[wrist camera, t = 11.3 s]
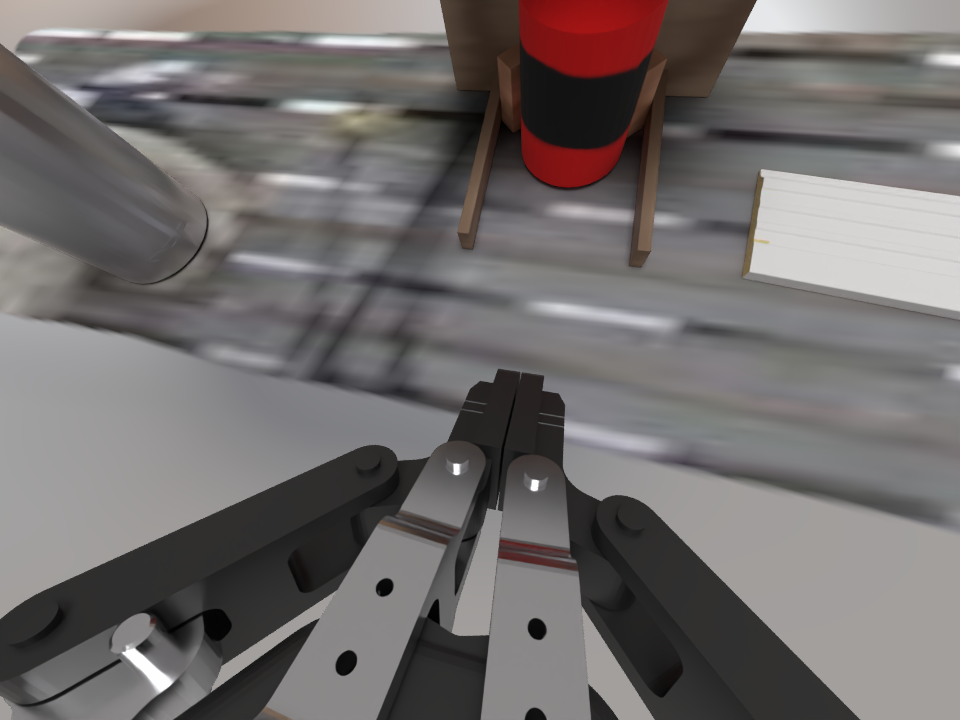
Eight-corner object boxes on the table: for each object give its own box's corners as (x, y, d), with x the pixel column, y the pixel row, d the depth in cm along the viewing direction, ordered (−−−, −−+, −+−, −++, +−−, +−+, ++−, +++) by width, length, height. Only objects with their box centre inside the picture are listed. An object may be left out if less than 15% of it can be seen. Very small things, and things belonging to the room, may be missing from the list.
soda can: (508, 131, 29) (496, -79, 18) (598, 98, 29) (644, -137, 18) (541, 204, 27) (551, 21, 16) (637, 170, 27) (719, -43, 15)
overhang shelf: (709, 76, 28) (1041, -617, 10) (697, 272, 24) (1205, -273, 6) (461, 71, 32) (371, -453, 13) (417, 243, 28) (204, -165, 9)
